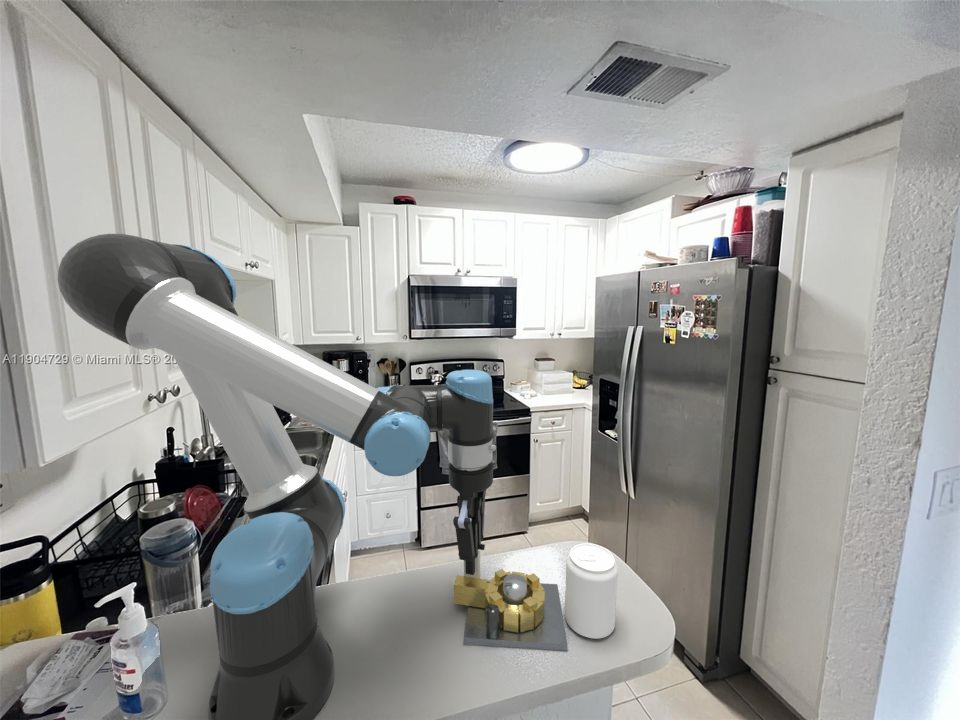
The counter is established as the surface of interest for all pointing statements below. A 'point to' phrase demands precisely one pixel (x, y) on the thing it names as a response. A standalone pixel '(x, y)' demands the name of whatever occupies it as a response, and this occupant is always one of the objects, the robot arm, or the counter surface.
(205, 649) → the counter surface
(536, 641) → the plate
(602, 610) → the beverage can
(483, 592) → the segmented ring with handle
